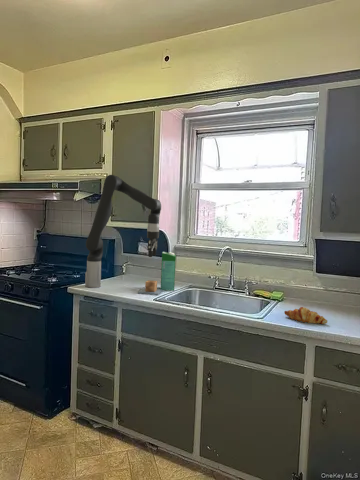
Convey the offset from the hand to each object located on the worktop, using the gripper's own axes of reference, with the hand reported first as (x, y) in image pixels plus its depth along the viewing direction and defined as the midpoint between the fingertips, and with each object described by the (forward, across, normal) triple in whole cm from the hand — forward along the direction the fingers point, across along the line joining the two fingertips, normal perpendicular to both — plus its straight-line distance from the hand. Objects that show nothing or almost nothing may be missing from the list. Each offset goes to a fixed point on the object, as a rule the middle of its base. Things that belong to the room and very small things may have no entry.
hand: (152, 256), depth 226 cm
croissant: (+23, +32, +90) cm, 98 cm away
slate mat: (+23, 0, 0) cm, 23 cm away
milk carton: (+23, -14, +8) cm, 28 cm away
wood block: (+22, 0, 0) cm, 22 cm away
